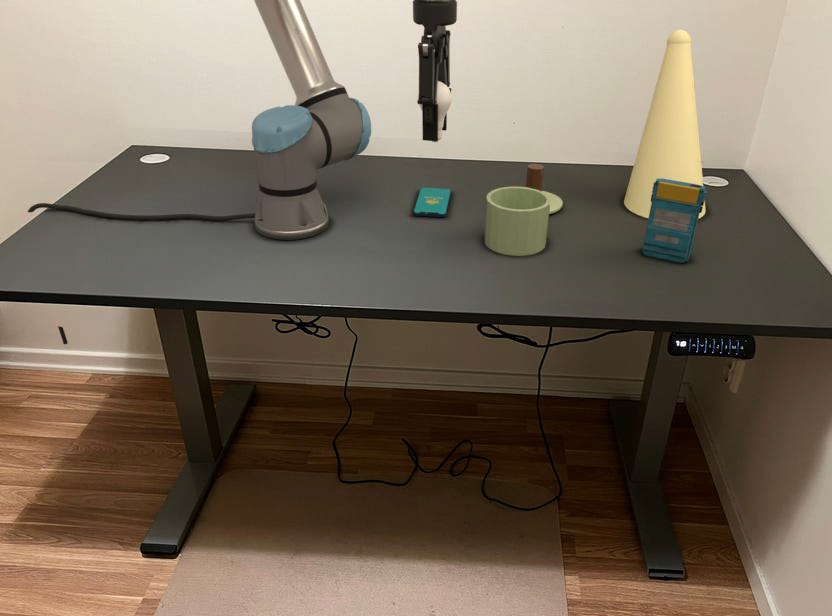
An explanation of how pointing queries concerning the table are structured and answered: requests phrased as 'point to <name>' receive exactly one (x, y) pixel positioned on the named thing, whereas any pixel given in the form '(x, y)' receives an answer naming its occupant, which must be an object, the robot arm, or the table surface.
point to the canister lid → (535, 182)
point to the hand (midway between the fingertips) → (434, 134)
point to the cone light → (668, 130)
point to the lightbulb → (442, 105)
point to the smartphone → (432, 202)
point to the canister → (516, 220)
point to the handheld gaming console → (673, 219)
